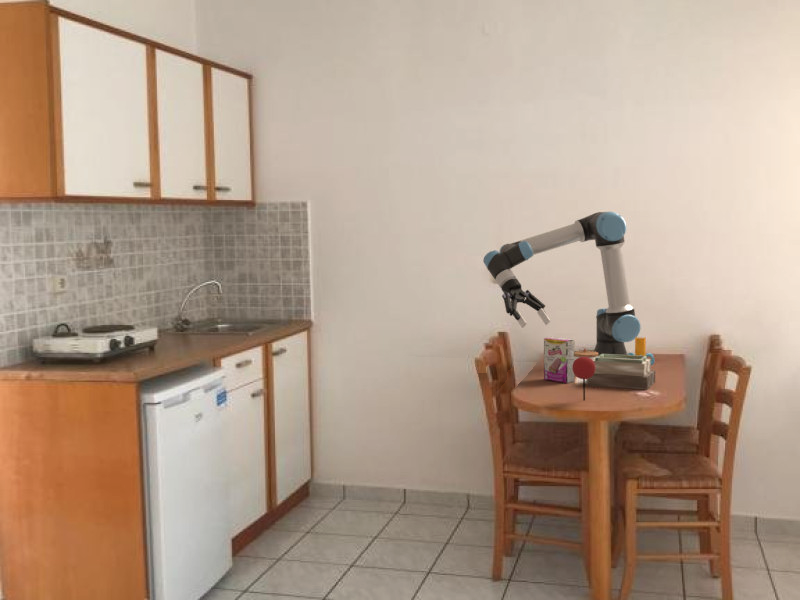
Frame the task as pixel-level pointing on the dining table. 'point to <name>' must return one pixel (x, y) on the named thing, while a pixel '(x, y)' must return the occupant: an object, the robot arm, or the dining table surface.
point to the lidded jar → (585, 354)
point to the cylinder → (641, 348)
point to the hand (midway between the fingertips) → (536, 324)
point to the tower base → (622, 381)
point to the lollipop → (583, 369)
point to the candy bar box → (558, 359)
